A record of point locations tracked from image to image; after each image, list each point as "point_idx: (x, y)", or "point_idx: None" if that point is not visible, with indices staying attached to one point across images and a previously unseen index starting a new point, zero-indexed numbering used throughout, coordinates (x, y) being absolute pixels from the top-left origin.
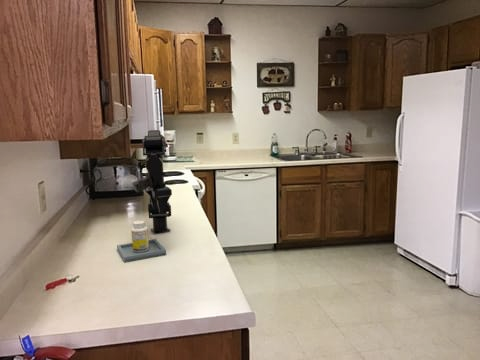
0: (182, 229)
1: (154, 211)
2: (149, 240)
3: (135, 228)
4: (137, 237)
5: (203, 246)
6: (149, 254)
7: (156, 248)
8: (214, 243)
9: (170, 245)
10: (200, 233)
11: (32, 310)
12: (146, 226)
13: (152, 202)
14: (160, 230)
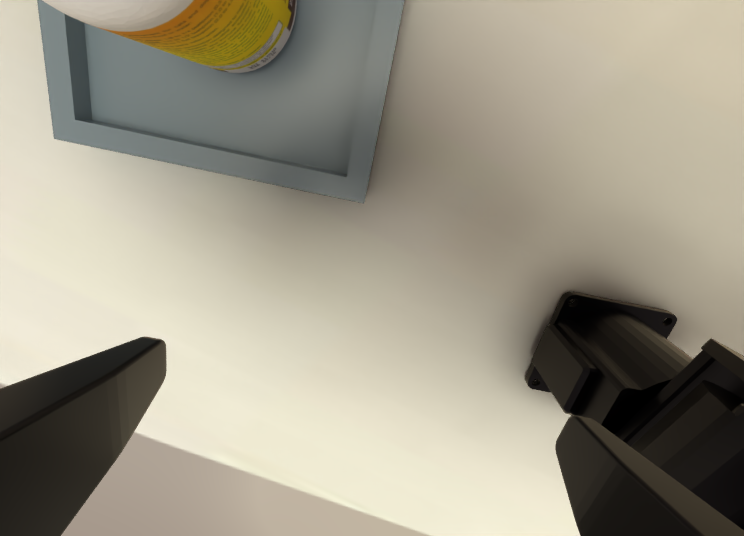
0: (501, 444)
1: (683, 424)
2: (359, 147)
3: None
4: None
5: None
6: None
7: (202, 126)
8: (151, 433)
9: (262, 253)
10: (356, 467)
11: None
12: (88, 8)
13: (669, 523)
14: (549, 334)
